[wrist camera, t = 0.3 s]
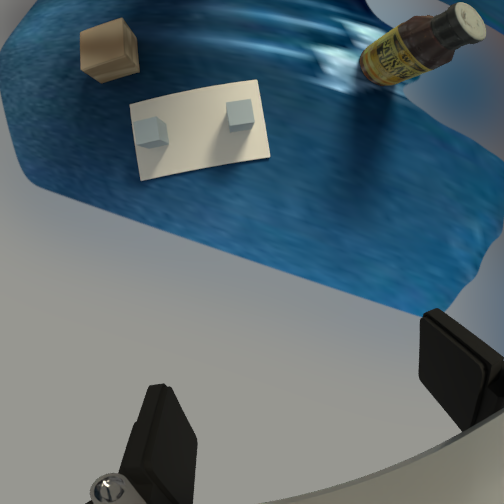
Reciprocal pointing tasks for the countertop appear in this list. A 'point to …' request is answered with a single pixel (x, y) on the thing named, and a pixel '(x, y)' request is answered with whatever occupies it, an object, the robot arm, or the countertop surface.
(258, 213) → the countertop surface
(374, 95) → the countertop surface
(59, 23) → the countertop surface
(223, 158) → the post stand
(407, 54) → the sauce bottle
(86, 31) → the wood grain cube
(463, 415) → the robot arm
